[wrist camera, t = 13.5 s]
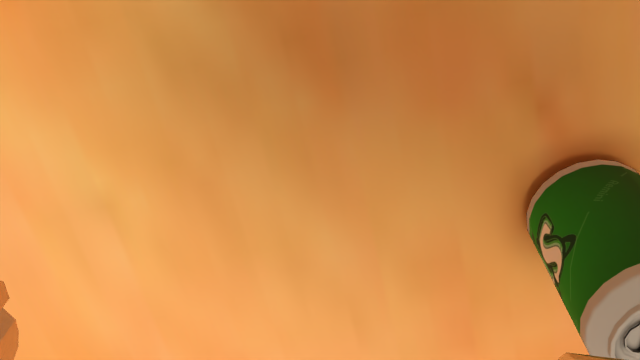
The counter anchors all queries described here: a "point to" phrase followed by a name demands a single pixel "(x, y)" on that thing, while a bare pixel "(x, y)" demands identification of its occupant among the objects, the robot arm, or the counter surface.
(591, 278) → the soda can
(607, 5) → the counter surface
